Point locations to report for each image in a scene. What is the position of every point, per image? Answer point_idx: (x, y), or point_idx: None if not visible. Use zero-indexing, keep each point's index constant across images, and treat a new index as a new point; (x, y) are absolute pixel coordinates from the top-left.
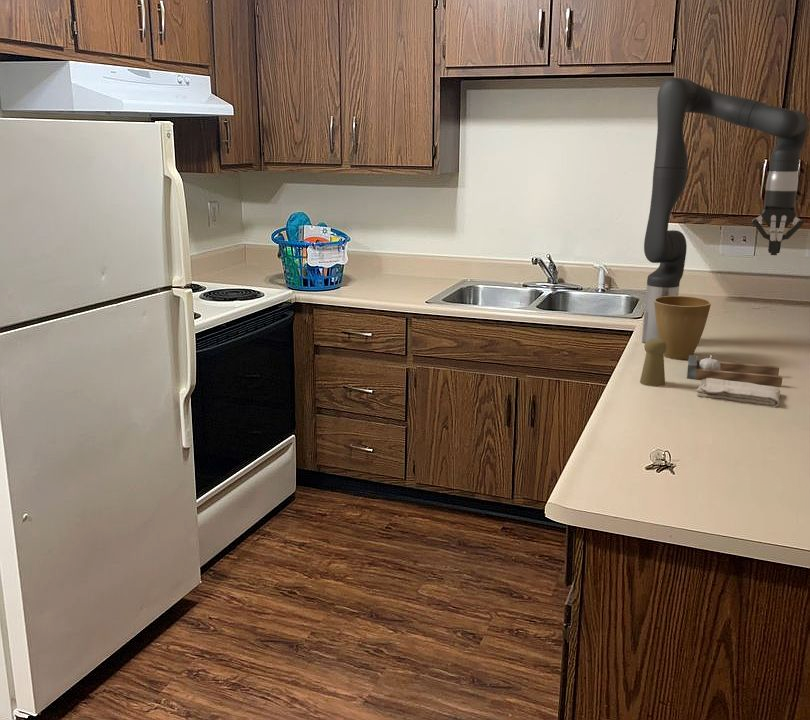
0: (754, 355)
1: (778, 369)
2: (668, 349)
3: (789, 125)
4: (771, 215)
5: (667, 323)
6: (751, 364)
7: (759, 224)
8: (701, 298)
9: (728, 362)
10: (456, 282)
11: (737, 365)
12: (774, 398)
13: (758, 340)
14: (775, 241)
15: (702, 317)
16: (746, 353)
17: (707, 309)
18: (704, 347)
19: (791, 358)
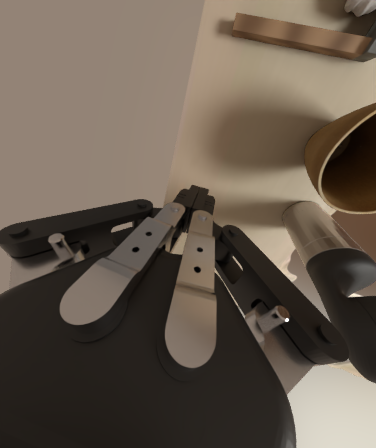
0: (219, 164)
1: (237, 13)
2: (364, 127)
3: None
4: (200, 365)
5: None
6: (273, 34)
7: (282, 299)
8: (320, 191)
9: (310, 41)
10: (349, 363)
11: (300, 26)
12: None
13: None
14: (190, 211)
15: (359, 112)
16: (224, 172)
17: (353, 122)
18: (259, 195)
19: (184, 155)
